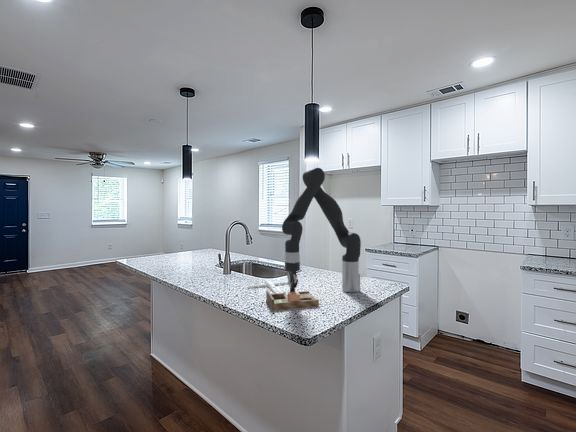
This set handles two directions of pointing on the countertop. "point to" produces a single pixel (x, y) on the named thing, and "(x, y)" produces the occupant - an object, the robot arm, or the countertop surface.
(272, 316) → the countertop surface
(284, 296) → the brown wooden compartment frame
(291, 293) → the block
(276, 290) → the articulated figure
